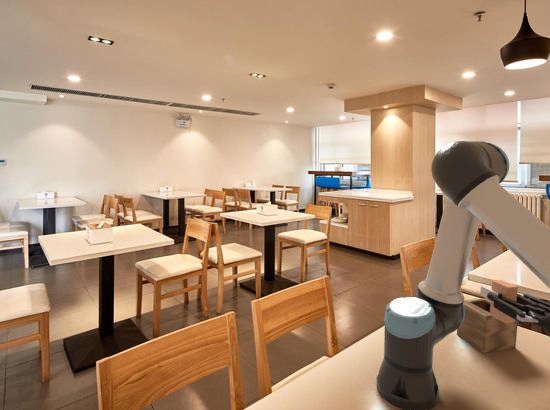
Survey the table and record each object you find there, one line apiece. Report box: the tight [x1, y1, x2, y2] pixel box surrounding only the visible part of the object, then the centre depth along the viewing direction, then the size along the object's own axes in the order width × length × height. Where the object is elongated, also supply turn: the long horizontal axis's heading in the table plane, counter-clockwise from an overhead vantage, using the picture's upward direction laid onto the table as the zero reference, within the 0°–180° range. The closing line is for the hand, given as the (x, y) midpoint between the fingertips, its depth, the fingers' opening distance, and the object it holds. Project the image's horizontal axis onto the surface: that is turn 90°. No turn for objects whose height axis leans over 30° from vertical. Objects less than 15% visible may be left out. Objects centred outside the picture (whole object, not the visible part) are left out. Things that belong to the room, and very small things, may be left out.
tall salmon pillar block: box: [490, 279, 519, 323], centre depth 90 cm, size 3×5×10 cm, turn 11°
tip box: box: [456, 297, 519, 353], centre depth 107 cm, size 12×11×12 cm
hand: (487, 289), depth 95 cm, fingers closed on tall salmon pillar block, 3 cm apart
